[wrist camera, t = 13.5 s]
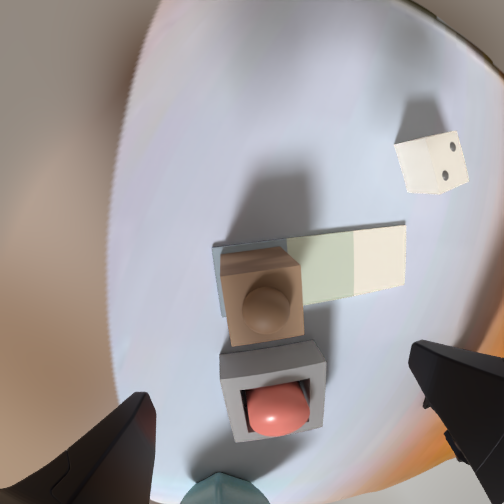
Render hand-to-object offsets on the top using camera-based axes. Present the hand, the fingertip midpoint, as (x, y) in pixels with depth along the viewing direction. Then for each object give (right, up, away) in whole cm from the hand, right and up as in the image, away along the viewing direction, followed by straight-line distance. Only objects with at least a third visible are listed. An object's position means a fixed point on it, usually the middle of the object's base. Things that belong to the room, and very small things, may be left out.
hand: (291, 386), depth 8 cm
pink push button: (0, -7, +13) cm, 15 cm away
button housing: (0, -7, +13) cm, 15 cm away
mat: (+4, +3, +12) cm, 13 cm away
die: (+12, +11, +11) cm, 20 cm away
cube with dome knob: (-1, +2, +11) cm, 11 cm away
